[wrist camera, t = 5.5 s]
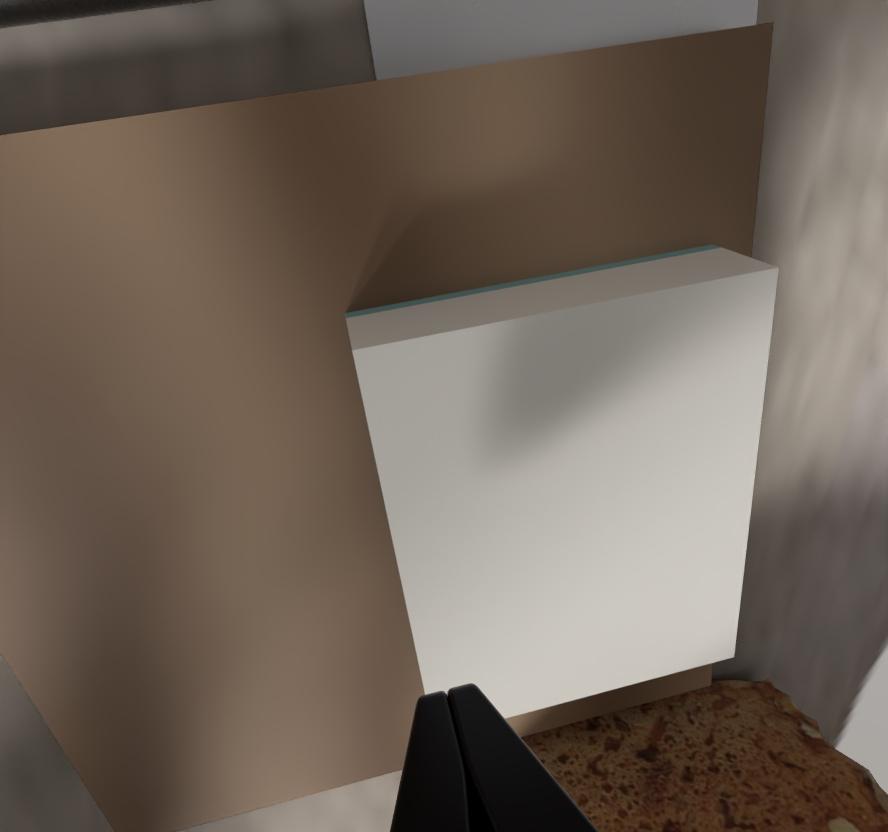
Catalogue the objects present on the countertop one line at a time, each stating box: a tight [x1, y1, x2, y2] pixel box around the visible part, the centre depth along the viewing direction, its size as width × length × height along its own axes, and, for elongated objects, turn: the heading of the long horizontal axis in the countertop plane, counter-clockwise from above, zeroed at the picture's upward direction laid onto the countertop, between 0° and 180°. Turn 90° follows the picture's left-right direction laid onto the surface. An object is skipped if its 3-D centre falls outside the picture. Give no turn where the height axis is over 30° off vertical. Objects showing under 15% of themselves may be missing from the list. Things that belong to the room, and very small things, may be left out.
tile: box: [345, 244, 779, 718], centre depth 13 cm, size 2×9×7 cm
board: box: [0, 22, 773, 832], centre depth 14 cm, size 16×16×1 cm
